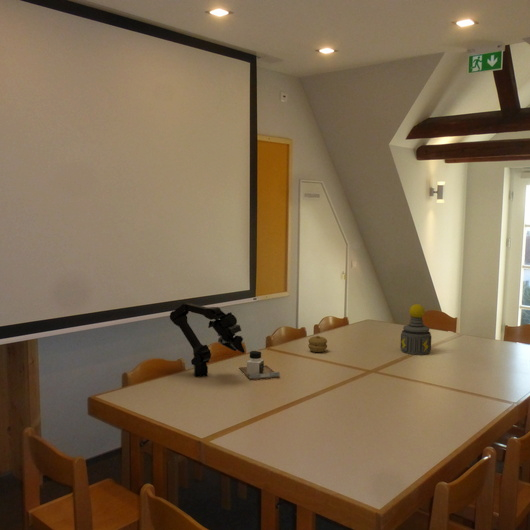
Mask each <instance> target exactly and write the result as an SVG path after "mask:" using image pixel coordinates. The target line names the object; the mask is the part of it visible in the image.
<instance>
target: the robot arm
mask: <svg viewBox="0 0 530 530" xmlns="http://www.w3.org/2000/svg"><path fill="white" fill-rule="evenodd" d="M189 313H192V314H193V313H194V314H199V315H201V316H203V317H204V318H206V319H209V322H208V328H209V329H210V328H212V329H213V330H214V331H215V332H216V334H217V336H218V337H219V338H218V339H217V341H218V344H220V345H221V346H224V347H226V348H228V349H229V350H231V351H233V352H236V351H239V352H240V353H242V354H244V353H245V349H244V346H243V343H242V342H243V340H244V338H243V337H242V336H241V335H236V334H237V333H239V332H242V327H241V325H240V324H237V323H238V320H237V319H238V318H237V317H236V316H235V315H234V314H232V312H228V313H225V312H224V311H222V309H221V308H220V307H218V306H210V307H209V306H208V307H207V306H203V305H199V304H195V303H191V302H186V303H182V304H181V305H180V306H179V307H177V308H176V309H174V310H172V311H171V312H170V314H169V319H170V321H171V322H172V323H173V324H174V325H175V326H177V327H178V328H180V330H181V332H182V333H183V336H184V337H185V338H186V340H187V341H188V344H189V345H190V346H191V347H192V351H193V354H192V355H193V356H194V357H193V358H192V359H191V361H190V362H191V363H190V364H191V365H192V366H193V373H192V374H193V375H194V377H196V378H198V377H199V378H200V377H208V374H209V373H208V371H209V370H208V369H209V367H208V365H207V364H209V362H210V360H211V357H212V352H211V349H210V348H209V346H208V344H202V343H201V342H200V340H199V338H198V337H197V335H196V333H195V332H194V330H193V329H192V327H191V326H190V324H189V322H188V314H189Z"/></svg>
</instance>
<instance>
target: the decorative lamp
mask: <svg viewBox="0 0 530 530" xmlns="http://www.w3.org/2000/svg"><path fill="white" fill-rule="evenodd" d="M409 315H410V320H409V323H408V324H406V325H404V326H403V330H402V331H401V333H400V350H401V352H402V353H404V354H408V355H411V356H425V355H429V354H430V353H431V351H432V333H431V331H430V328H429V327H428V326H426V325H425V324H424V320H423V317H424V316H425V307H423V305H421V304H419V303H418V304H417V303H415V304H413V305H411V306H410V308H409Z"/></svg>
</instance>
